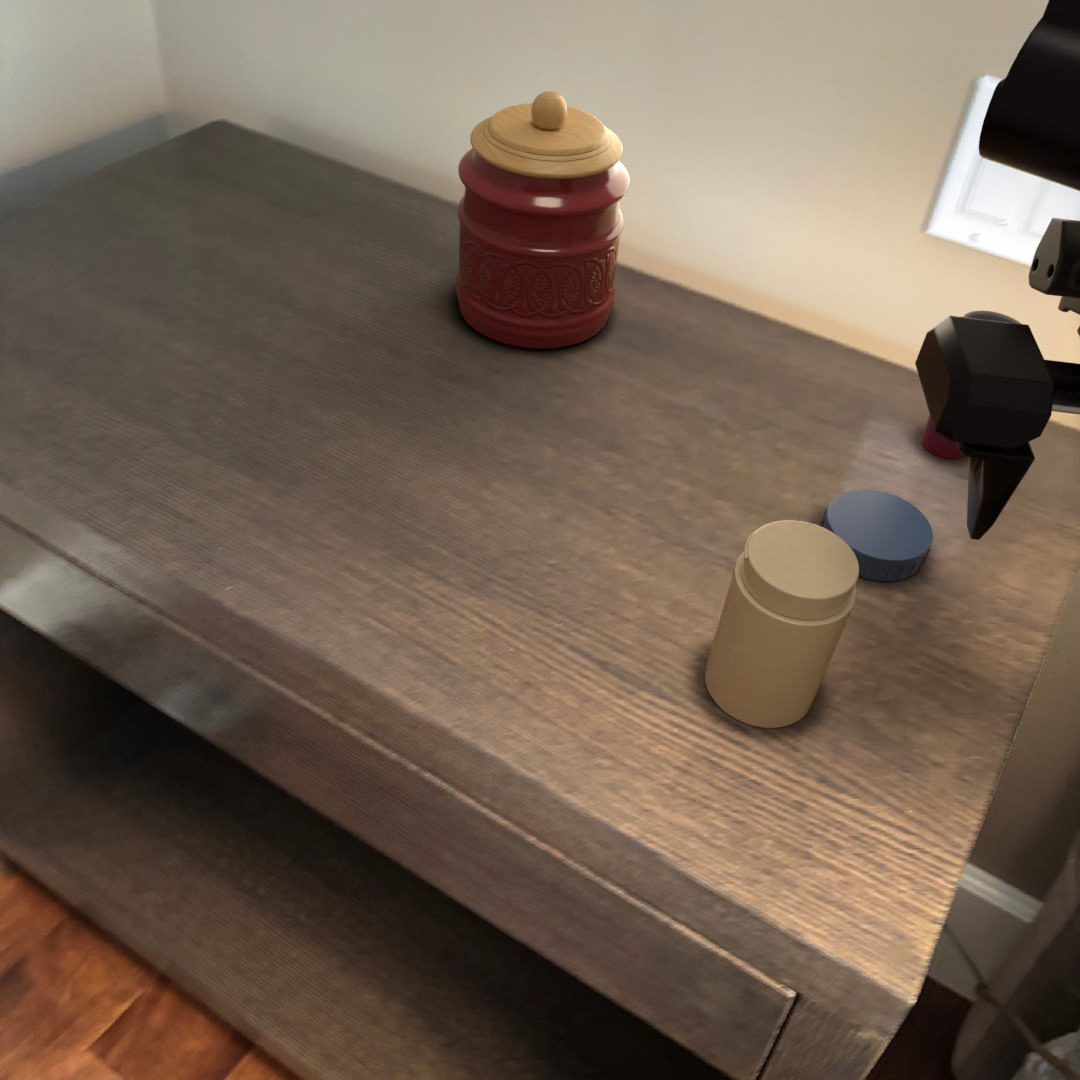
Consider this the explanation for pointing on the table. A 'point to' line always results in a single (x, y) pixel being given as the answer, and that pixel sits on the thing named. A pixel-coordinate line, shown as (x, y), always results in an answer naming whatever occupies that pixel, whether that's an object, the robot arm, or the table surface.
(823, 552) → the jar
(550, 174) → the kitchen canister
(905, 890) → the table surface
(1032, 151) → the robot arm
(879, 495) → the lid
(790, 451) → the table surface
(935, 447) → the cup
